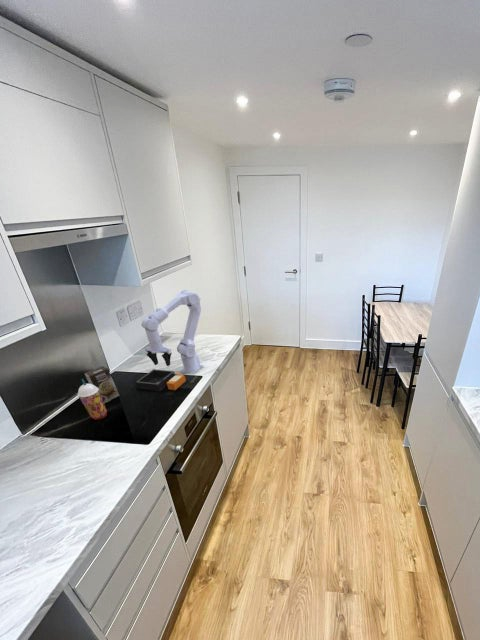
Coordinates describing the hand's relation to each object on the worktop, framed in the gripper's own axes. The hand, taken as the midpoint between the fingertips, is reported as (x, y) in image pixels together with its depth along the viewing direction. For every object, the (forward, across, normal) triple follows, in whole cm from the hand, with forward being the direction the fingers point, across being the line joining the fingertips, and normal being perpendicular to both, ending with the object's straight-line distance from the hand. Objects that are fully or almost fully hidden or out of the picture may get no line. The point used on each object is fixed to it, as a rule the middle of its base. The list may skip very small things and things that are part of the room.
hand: (162, 364), depth 173 cm
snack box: (+9, +10, -5) cm, 14 cm away
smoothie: (+10, -11, -37) cm, 40 cm away
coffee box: (+10, -19, -23) cm, 31 cm away
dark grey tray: (+9, -3, -4) cm, 11 cm away
